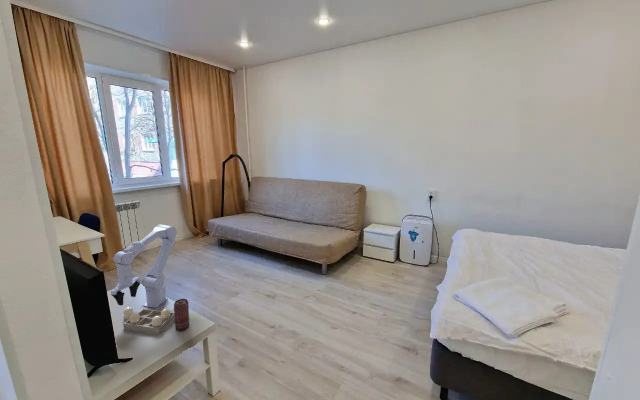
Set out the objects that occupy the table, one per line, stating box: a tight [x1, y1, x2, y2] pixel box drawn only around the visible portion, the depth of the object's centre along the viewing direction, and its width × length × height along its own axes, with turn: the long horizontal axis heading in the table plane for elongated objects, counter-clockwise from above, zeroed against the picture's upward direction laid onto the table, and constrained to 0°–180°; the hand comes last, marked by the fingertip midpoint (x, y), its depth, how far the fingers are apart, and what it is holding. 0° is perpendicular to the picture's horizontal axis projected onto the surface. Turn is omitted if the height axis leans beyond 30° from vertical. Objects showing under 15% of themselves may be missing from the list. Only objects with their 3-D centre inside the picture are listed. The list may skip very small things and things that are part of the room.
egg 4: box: [161, 308, 171, 320], centre depth 134 cm, size 4×4×6 cm
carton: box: [122, 308, 175, 335], centre depth 132 cm, size 12×18×3 cm
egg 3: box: [152, 316, 162, 328], centre depth 128 cm, size 4×4×6 cm
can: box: [173, 298, 190, 333], centre depth 129 cm, size 6×6×14 cm
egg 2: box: [130, 312, 140, 324], centre depth 129 cm, size 4×4×6 cm
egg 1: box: [122, 306, 134, 321], centre depth 136 cm, size 4×4×6 cm
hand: (127, 300), depth 134 cm, fingers open, 7 cm apart
